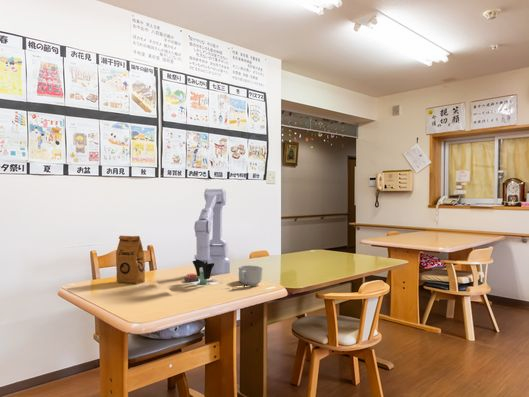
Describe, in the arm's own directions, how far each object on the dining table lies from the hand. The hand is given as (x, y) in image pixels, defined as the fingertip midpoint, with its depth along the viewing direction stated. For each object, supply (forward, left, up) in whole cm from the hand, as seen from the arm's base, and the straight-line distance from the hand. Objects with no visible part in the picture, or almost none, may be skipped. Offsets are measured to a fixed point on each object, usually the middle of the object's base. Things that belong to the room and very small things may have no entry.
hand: (203, 277), depth 172 cm
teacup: (-18, +9, -4) cm, 21 cm away
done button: (+2, -9, -1) cm, 9 cm away
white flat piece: (-2, -4, -4) cm, 6 cm away
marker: (0, 0, -3) cm, 3 cm away
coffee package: (+24, -28, -4) cm, 37 cm away
